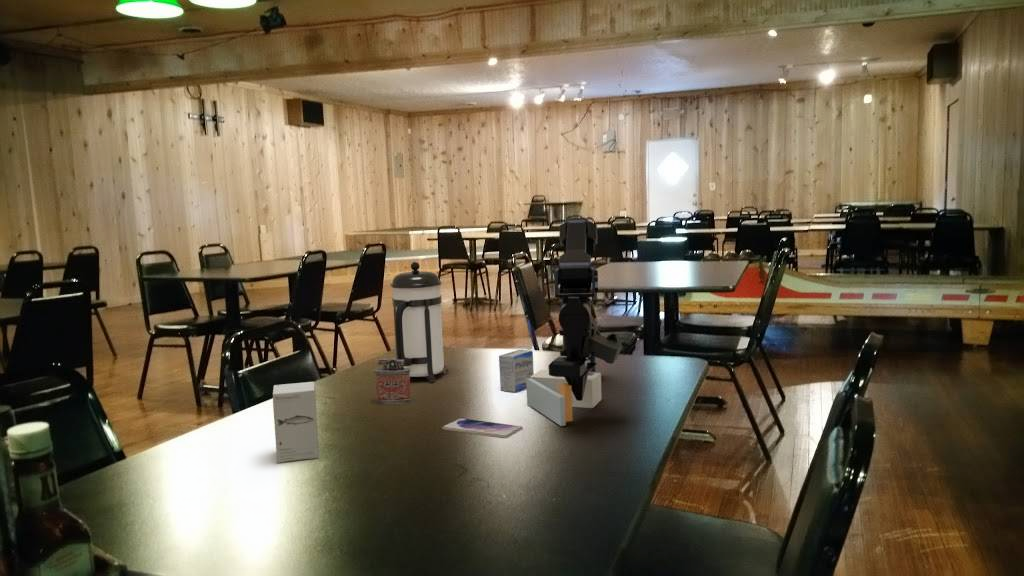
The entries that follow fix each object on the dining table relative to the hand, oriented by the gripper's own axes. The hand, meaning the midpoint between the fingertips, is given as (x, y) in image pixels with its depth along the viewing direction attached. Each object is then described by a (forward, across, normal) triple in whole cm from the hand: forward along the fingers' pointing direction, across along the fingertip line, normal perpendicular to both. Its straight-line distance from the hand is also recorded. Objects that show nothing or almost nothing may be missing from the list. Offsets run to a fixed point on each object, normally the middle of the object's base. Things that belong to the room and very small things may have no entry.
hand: (579, 400), depth 145 cm
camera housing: (+4, +12, +7) cm, 15 cm away
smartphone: (+5, -10, +17) cm, 20 cm away
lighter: (+5, +3, +45) cm, 45 cm away
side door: (+4, +2, +8) cm, 9 cm away
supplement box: (+4, -33, +43) cm, 54 cm away
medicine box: (+5, +21, +22) cm, 31 cm away
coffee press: (+5, +24, +50) cm, 56 cm away
